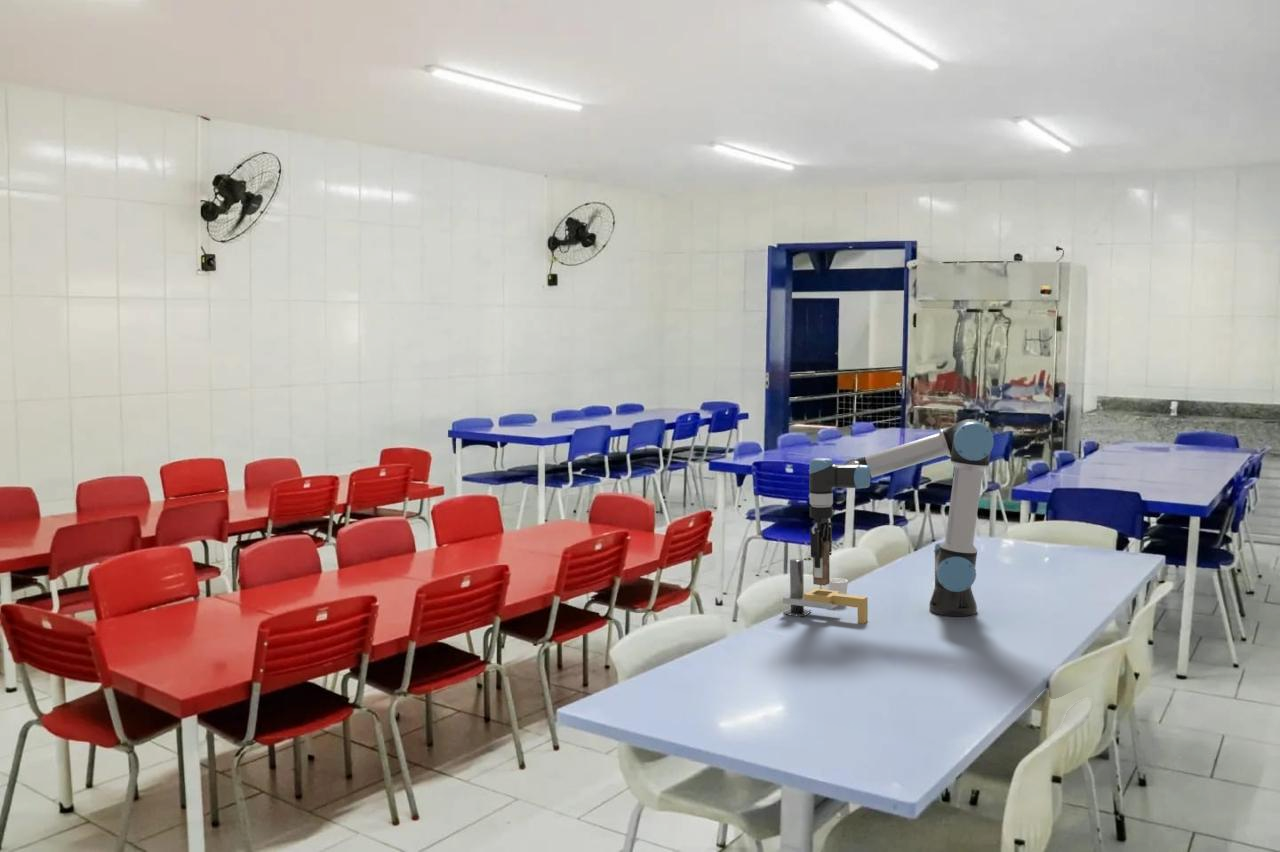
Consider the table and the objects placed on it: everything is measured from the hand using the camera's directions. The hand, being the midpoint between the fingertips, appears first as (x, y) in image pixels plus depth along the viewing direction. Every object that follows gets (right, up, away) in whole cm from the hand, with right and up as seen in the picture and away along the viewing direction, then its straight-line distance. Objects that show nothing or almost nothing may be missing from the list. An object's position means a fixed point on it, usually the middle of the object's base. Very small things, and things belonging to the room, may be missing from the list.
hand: (821, 575), depth 347 cm
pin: (0, -3, 0) cm, 3 cm away
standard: (-3, -14, +3) cm, 14 cm away
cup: (+8, -12, +19) cm, 24 cm away
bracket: (+5, -14, -2) cm, 15 cm away
